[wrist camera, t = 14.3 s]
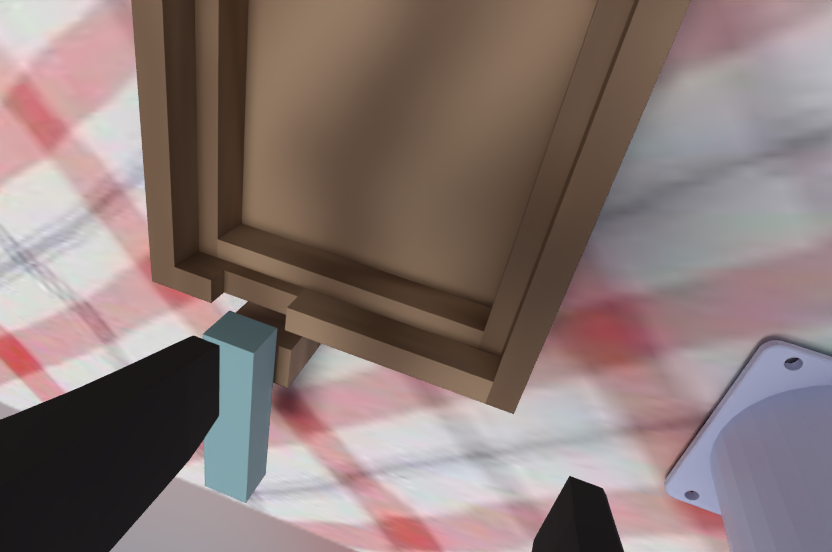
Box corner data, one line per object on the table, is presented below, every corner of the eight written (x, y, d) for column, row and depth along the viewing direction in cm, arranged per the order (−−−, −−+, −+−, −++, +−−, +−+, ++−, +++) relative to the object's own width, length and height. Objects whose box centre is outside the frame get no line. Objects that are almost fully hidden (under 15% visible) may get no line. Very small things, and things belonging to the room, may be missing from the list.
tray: (695, -65, 13) (725, -82, 10) (500, 413, 22) (485, 479, 19) (210, -171, 15) (115, -212, 12) (211, 307, 24) (157, 351, 21)
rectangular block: (277, 328, 19) (253, 353, 18) (265, 474, 24) (246, 503, 22) (229, 310, 20) (202, 334, 18) (226, 457, 24) (204, 485, 23)
